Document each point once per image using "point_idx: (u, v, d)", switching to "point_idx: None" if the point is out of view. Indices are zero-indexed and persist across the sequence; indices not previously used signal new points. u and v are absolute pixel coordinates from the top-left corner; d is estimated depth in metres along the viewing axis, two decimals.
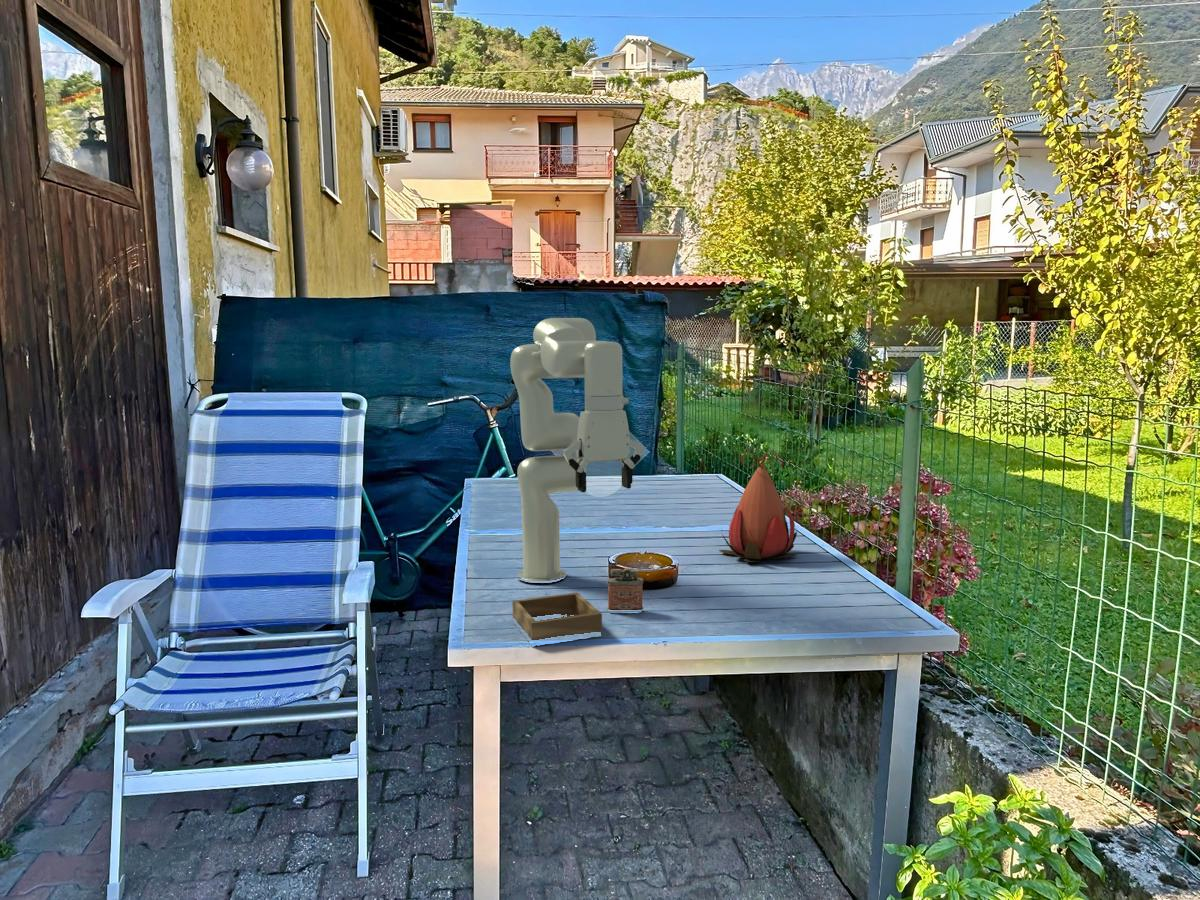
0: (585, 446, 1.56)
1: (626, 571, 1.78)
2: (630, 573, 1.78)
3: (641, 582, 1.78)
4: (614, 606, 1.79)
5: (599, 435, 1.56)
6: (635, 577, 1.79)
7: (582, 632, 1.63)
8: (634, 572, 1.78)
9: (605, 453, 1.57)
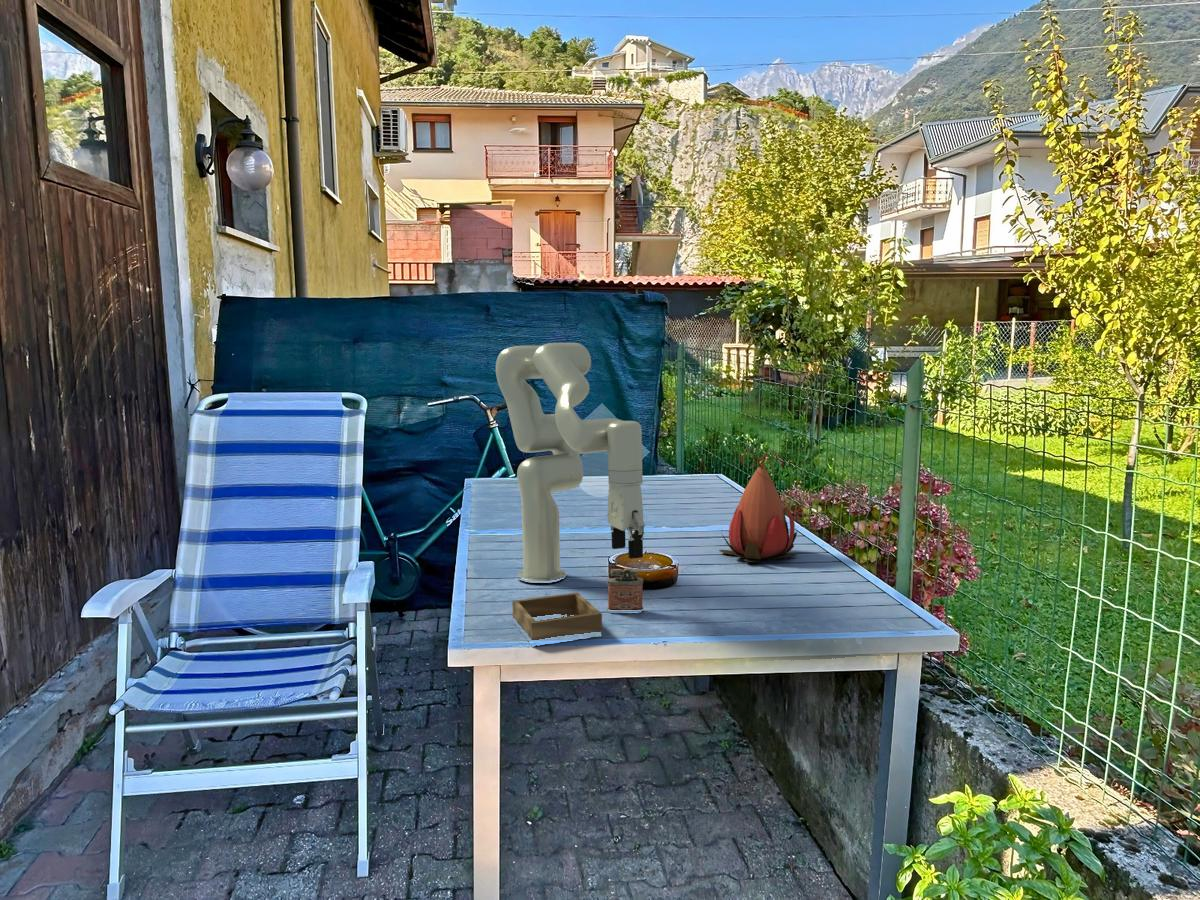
0: (642, 515, 1.73)
1: (626, 571, 1.78)
2: (630, 573, 1.78)
3: (641, 582, 1.78)
4: (614, 606, 1.79)
5: None
6: (635, 577, 1.79)
7: (582, 632, 1.63)
8: (634, 572, 1.78)
9: None
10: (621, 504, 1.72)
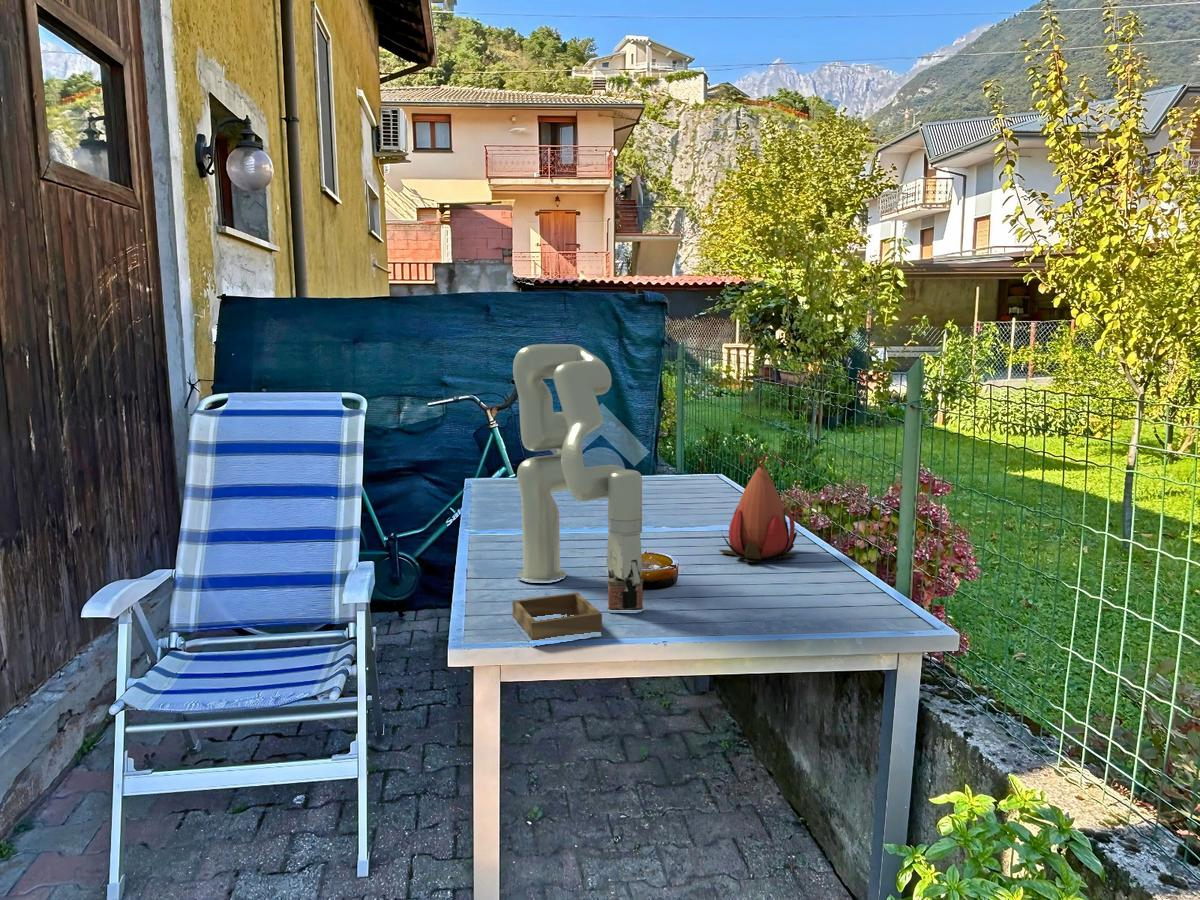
0: (641, 564, 1.75)
1: None
2: None
3: (641, 582, 1.79)
4: (614, 606, 1.79)
5: None
6: None
7: (582, 632, 1.63)
8: None
9: None
10: (620, 554, 1.74)
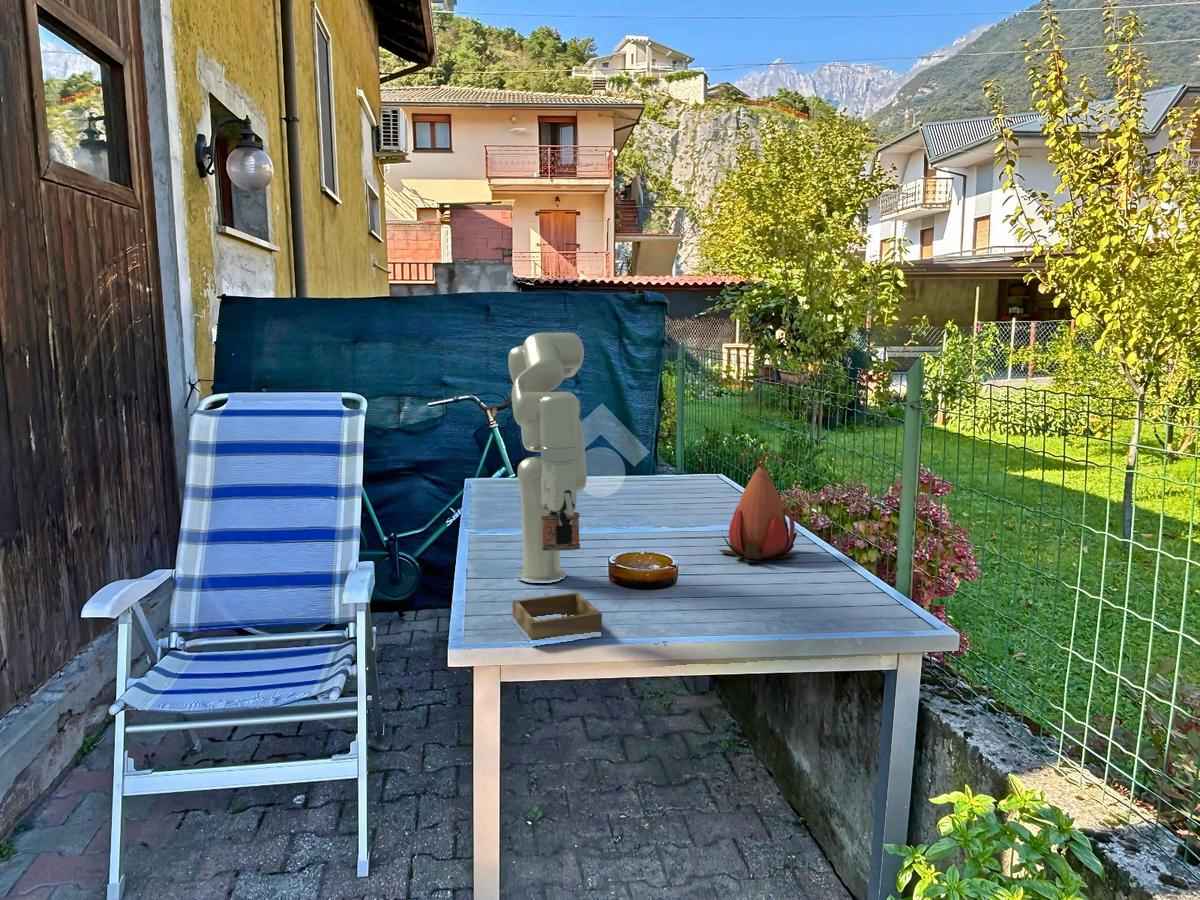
0: None
1: None
2: None
3: (577, 516, 1.66)
4: (548, 543, 1.66)
5: None
6: None
7: (582, 632, 1.63)
8: None
9: None
10: (553, 484, 1.61)
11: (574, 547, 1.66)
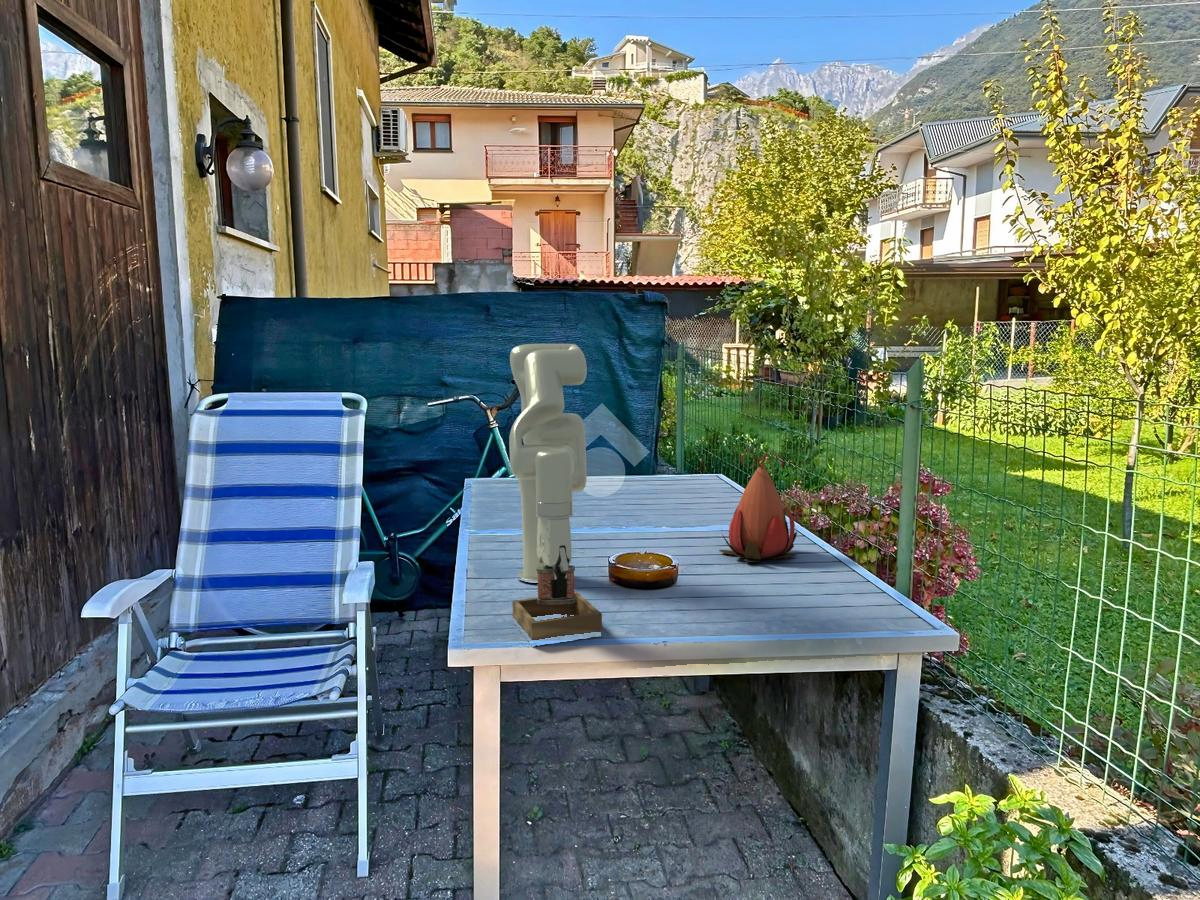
0: None
1: None
2: None
3: (572, 569, 1.67)
4: (543, 596, 1.67)
5: None
6: None
7: (582, 632, 1.63)
8: None
9: None
10: (548, 539, 1.62)
11: (569, 601, 1.67)
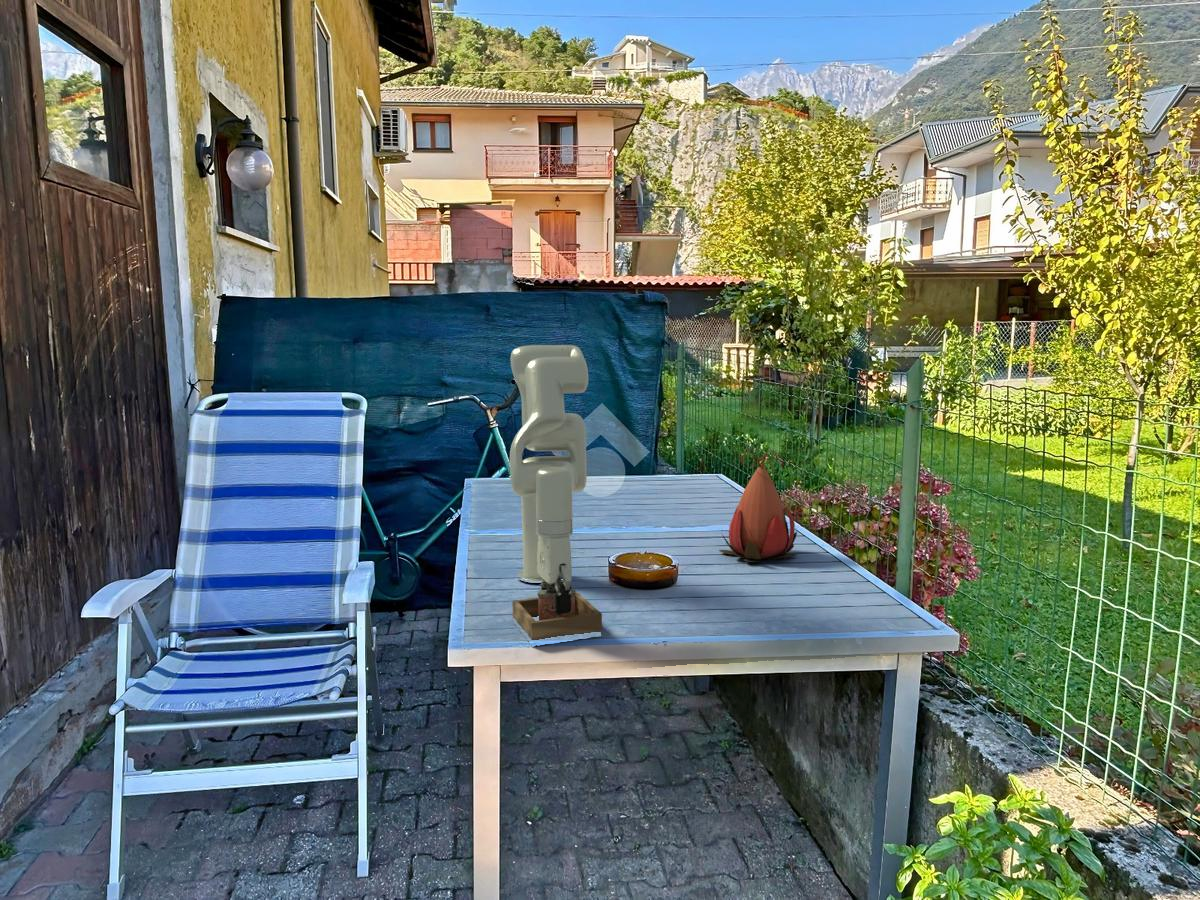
0: (571, 568, 1.64)
1: None
2: (562, 584, 1.67)
3: (573, 594, 1.67)
4: None
5: None
6: None
7: (582, 632, 1.63)
8: None
9: None
10: (548, 557, 1.63)
11: None
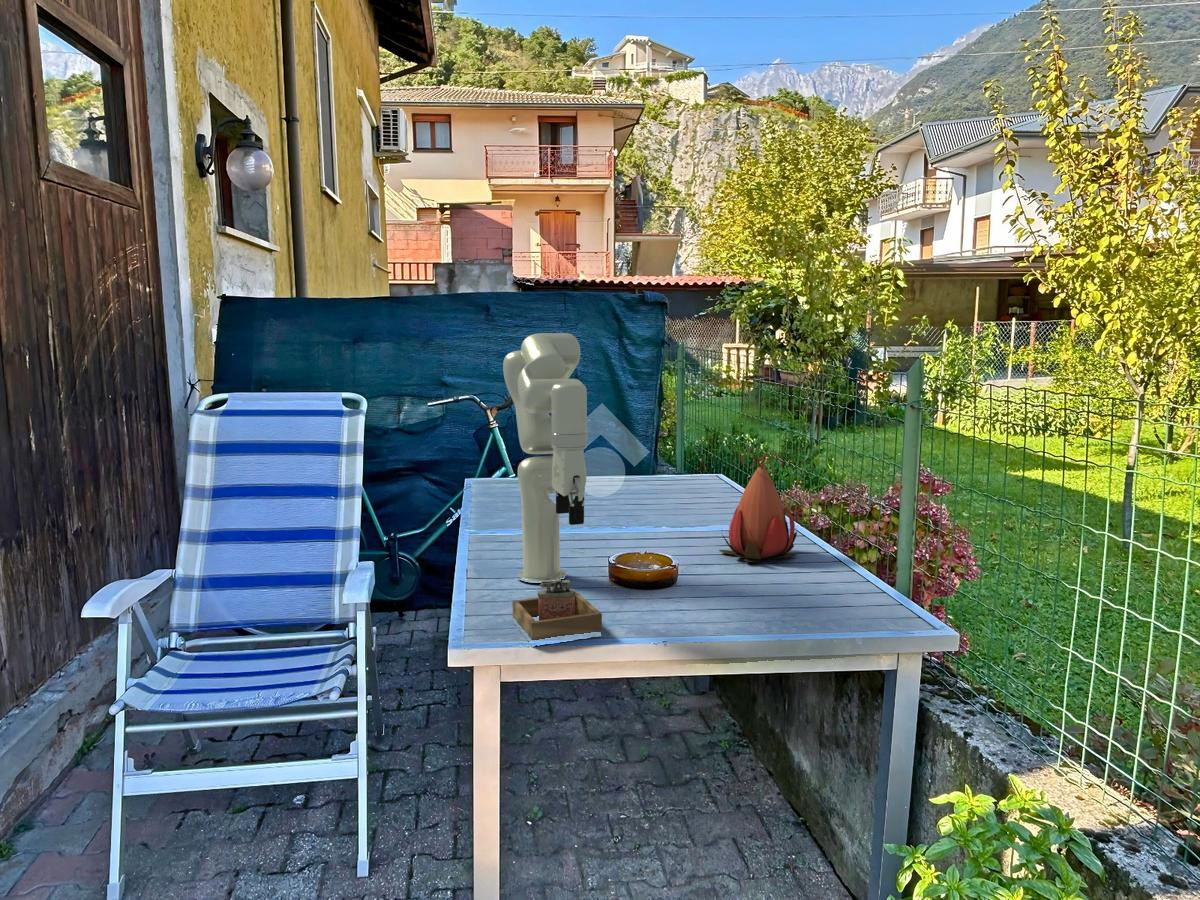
0: (584, 480, 1.68)
1: (557, 582, 1.67)
2: (562, 584, 1.67)
3: (573, 593, 1.68)
4: None
5: None
6: (567, 588, 1.68)
7: (582, 632, 1.63)
8: (566, 583, 1.67)
9: None
10: (562, 469, 1.67)
11: None
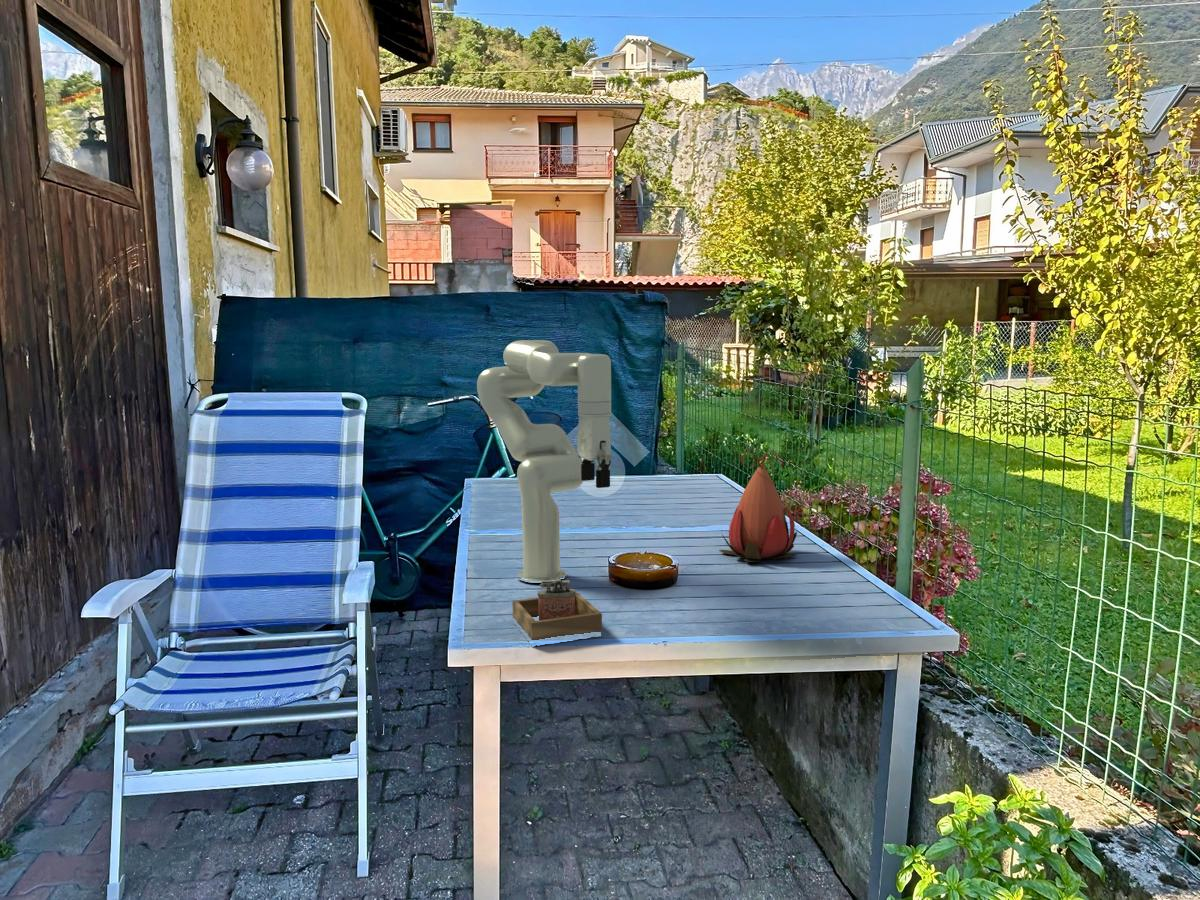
0: (610, 445, 1.77)
1: (557, 582, 1.67)
2: (562, 584, 1.67)
3: (573, 593, 1.68)
4: None
5: None
6: (567, 588, 1.68)
7: (582, 632, 1.63)
8: (566, 583, 1.67)
9: None
10: (589, 435, 1.76)
11: None
